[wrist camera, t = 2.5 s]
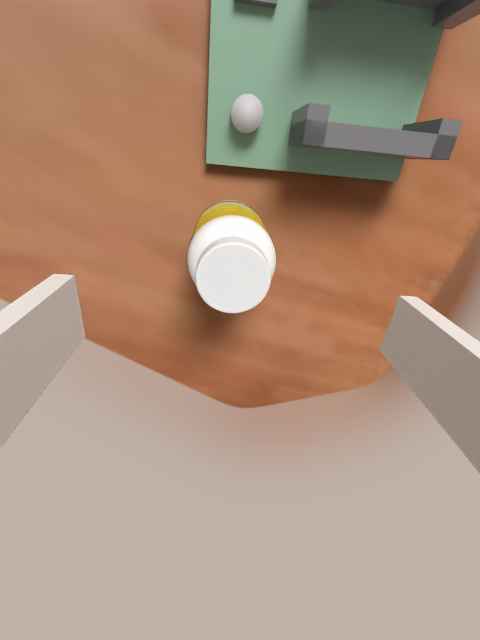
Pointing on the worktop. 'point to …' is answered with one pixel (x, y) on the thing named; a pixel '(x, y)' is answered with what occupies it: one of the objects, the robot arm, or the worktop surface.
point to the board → (313, 79)
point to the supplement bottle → (231, 257)
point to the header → (411, 142)
